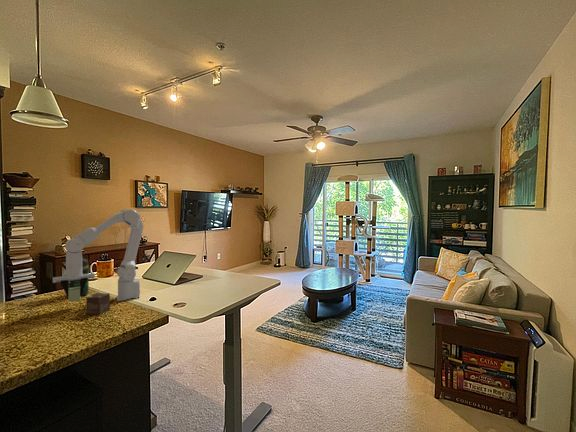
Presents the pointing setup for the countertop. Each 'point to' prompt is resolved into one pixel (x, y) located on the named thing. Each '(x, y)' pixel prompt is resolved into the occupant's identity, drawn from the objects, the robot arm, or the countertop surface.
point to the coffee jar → (77, 282)
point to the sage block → (74, 294)
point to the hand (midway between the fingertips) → (74, 296)
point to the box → (98, 303)
